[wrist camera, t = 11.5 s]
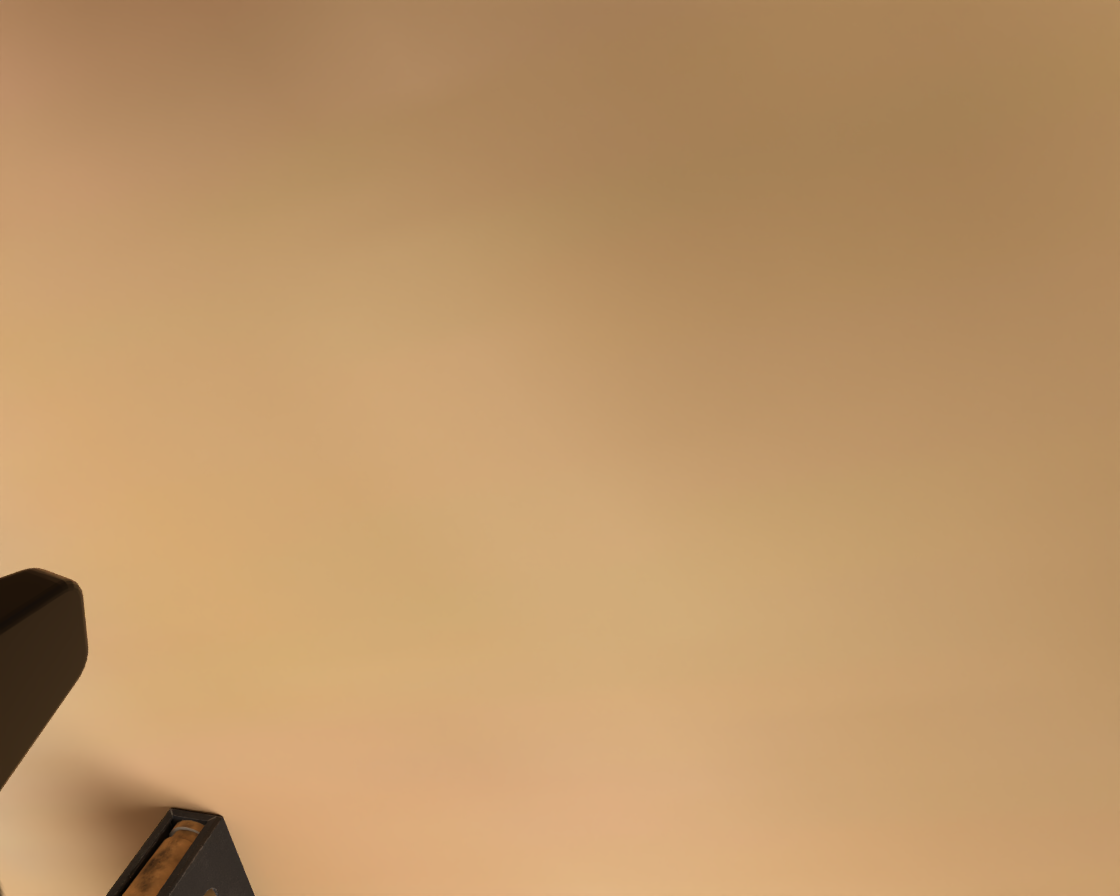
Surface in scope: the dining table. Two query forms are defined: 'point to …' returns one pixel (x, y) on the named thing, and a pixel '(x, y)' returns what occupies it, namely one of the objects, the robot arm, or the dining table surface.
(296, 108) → the dining table surface
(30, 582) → the robot arm
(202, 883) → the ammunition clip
